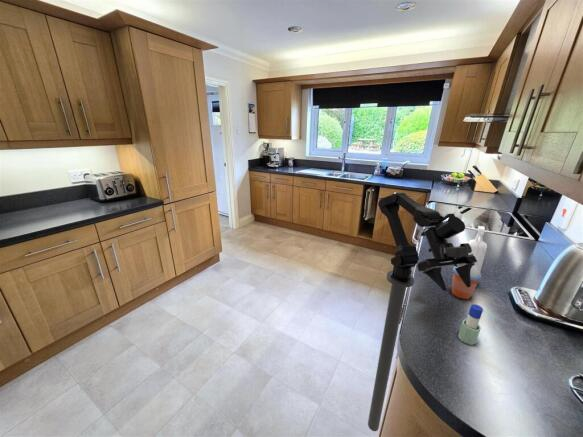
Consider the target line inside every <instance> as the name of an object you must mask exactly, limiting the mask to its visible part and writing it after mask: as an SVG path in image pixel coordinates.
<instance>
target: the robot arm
mask: <svg viewBox="0 0 583 437" xmlns="http://www.w3.org/2000/svg"><path fill="white" fill-rule="evenodd" d="M377 206H378V208H379V210H380V212H381V214H383V215H384V216H385V217H386V219H387V221H388V225H389V229H390V231H391V234H392V237H393V240H394V244H395V246H396V247H395V251H394V255H395V256H393V257H391V258H390V264H391V265H392V266H393V268H392V271H393V273H392V275H390V277H392V278H394V279H396V280H398V281H400V282H402V283H405V282H406V281H408V280H409V279H410V278H411V276H412V272H413V271H412V268H415V267H417V270H418V272H422V274H424V275H427V277H429V278H430V279H431V280H432V281H433V282H434V283H435V284H436V285H437V286H438V287H439V288H440V289H441V290H442V291H444V292H446V291H447V286H446V283H445V280H444V278H443V275H442V269H443V268H442V267H446V266H453V267H455V266H456V267H458V268H455V270H456V271H457V273H458V274H459V276H460V277H461V279H462V281H463V282H464V284H465V285H466V286H467V287H471V280H470V270H471V268H472V266H473V265H475V263H476V262H477V260H476V258H475V256H473V255H469V253H471V252H472V249H471V247H470V245H469V243H468V242H466V243H460V244H459V246H455V245H454V244H453V243H452V242H449V241H448V240H449V239H451V238H453V237H455V236H457V235H459V234H461V233H463V232H464V231H465V230H466V224H465V222H464V221H463V220H462V219H461V218H459V217H458V216H456V215H455V213H447V214H446V215H445V216H443V215H441V214H440V212H439V211H438V210H435V209H433V208H430V207H426V206H423V205H421V204H420V203H418V202H417V201H415V200H414V199H412V198H411V197H410V196H408V195H407V194H406V192H394V193H392V194H390V195H387V196H385V197H384V196H383V197H381V198H380V199H379V201H378V203H377ZM400 207H401V208H403V209H404V210H405V211H406V212H408V213H409V214H410V215H411V216H412V220H413V221H414V223H416V225H417V226H418V227H420V228H423V229H422V231H421V233H420V236H421V237H425V238H426V240H427V243H428V245H429V248H428V249H427V250H428V253H432V256H433V258H426V259H423V260H421V261H419V260H420V257H419V255H420V254H419V252H418V250H417V247H416V245H411V244H410V243H409V240H408V238H407V235H406V231H405V229H404V225H403V223H402V220H401V217H400V215H399V211H400ZM426 227H427V228H426Z"/></svg>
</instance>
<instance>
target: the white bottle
mask: <svg viewBox="0 0 583 437" xmlns="http://www.w3.org/2000/svg"><path fill="white" fill-rule="evenodd" d="M485 231H486V227H485V226H483V225H478V226H477V233H476V235H475V237H474V239H473V238H472V239H470V240H469V241H468V242H467V243H469V245H470V247H471V249H472V252H471V253H469V255H471V254H474V255H473V256H475V258H476V260H477V262H476V263H475V266H476V267H477V268H478V269H479V271H480V272H481V270H482V268H483V263H484V259H485V256H486V252H487V249H488V244H487V242H485V241H484V235H485ZM477 285H478V284H477ZM477 285H476V287H477Z"/></svg>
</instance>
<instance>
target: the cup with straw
mask: <svg viewBox="0 0 583 437" xmlns="http://www.w3.org/2000/svg"><path fill="white" fill-rule="evenodd" d="M471 255H474V254H471ZM455 268H458V267H456V266H453V268H452V272H453V275H452V284H451V286H452V287H451V293H452V295H454V296H455V297H456V298H459V299H461V300H469V299H470V298H471V296H472V294H473V293H474V292H475V290H476V287H477V286H476V285H478V283H479V281H480V280H482V277H483V276H482V273H481V271H479V269H478V268H477V267H476V266H475V265H473V266H472V268H471V270H470V280H471V287H467V286H466V285H465V284H464V282H463V281H462V279H461V277H460V276H459V274H458V273H457V271H456V270H455Z"/></svg>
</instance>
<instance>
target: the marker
mask: <svg viewBox="0 0 583 437" xmlns="http://www.w3.org/2000/svg"><path fill="white" fill-rule="evenodd" d="M483 312H484V308H483V307H482V306H481V305H478V304H475V303H472V304H471V305H470V308H469V311H468V315H467V318H466V319H467V321H466V324H465V325H466V326H467V327H469V328H471V329H474V330H476V329H477V326H478V324H480V323H479V322H480V320H481V318H482V314H483Z"/></svg>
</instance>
